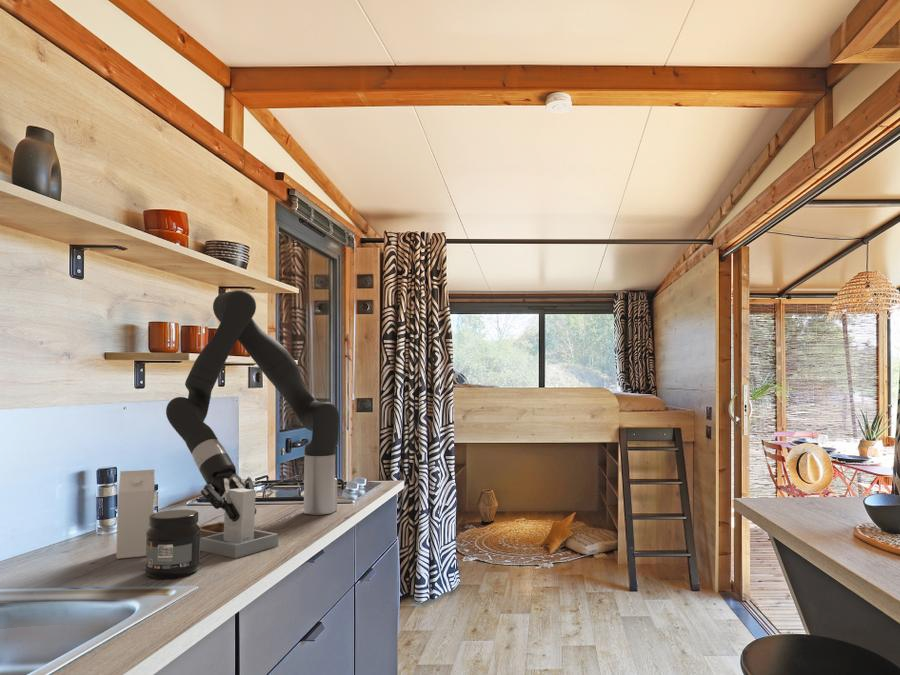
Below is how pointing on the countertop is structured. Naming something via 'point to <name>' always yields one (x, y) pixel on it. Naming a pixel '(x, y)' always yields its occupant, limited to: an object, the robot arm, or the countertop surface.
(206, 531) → the holder
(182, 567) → the supplement container
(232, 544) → the tray
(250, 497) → the skincare box
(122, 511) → the milk carton
